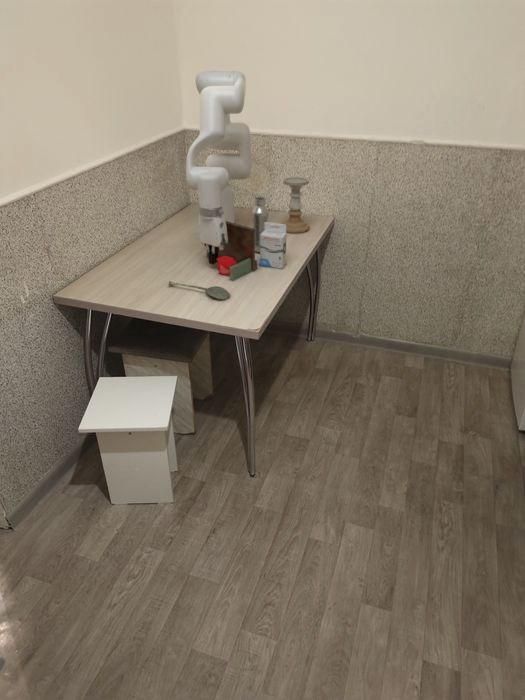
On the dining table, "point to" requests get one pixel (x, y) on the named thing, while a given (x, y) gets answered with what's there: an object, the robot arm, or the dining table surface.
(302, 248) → the dining table surface
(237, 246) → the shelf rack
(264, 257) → the ink box
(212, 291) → the soupspoon
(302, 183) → the candle holder
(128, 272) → the dining table surface
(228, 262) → the red rounded piece
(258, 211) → the silver metal bottle
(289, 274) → the dining table surface
